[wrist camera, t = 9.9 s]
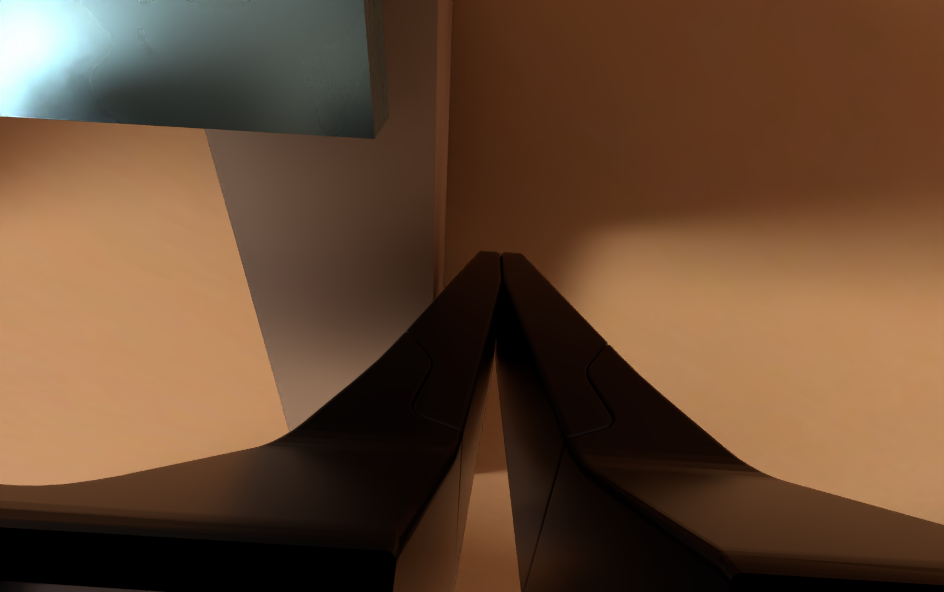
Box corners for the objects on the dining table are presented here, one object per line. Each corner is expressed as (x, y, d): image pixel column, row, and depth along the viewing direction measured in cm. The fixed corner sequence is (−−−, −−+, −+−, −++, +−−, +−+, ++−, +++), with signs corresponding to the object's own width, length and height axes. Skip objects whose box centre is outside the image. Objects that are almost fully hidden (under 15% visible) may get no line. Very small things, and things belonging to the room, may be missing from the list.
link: (448, 490, 16) (441, 566, 14) (334, 482, 16) (311, 557, 14) (481, -60, 7) (475, -68, 5) (218, -81, 7) (104, -97, 5)
